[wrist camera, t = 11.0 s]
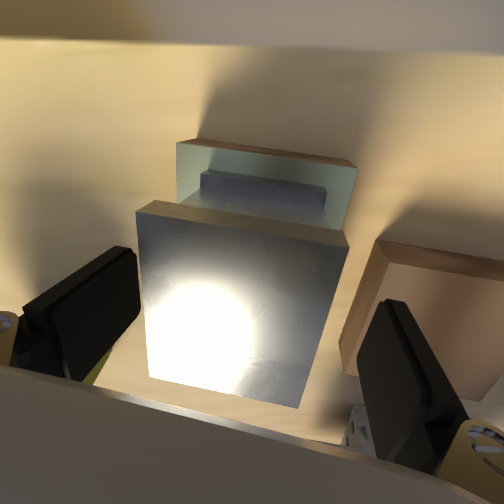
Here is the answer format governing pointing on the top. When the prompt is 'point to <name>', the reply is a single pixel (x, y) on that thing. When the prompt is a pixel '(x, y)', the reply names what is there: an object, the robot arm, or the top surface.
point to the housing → (239, 284)
